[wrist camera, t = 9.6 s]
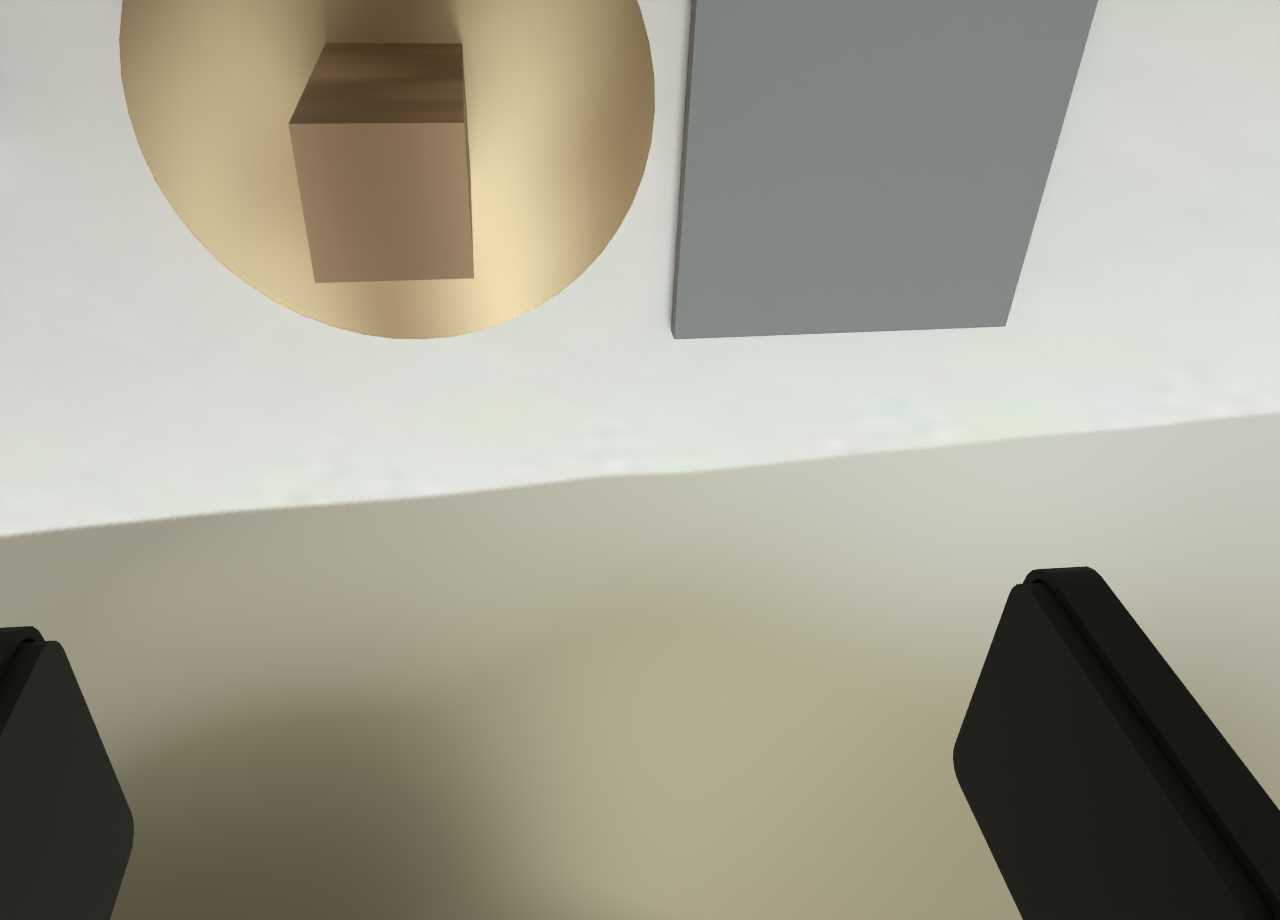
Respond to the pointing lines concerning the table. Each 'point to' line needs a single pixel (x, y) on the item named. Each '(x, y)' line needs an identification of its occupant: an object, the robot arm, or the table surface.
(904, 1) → the mat
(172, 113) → the lid
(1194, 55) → the table surface
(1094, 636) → the robot arm
